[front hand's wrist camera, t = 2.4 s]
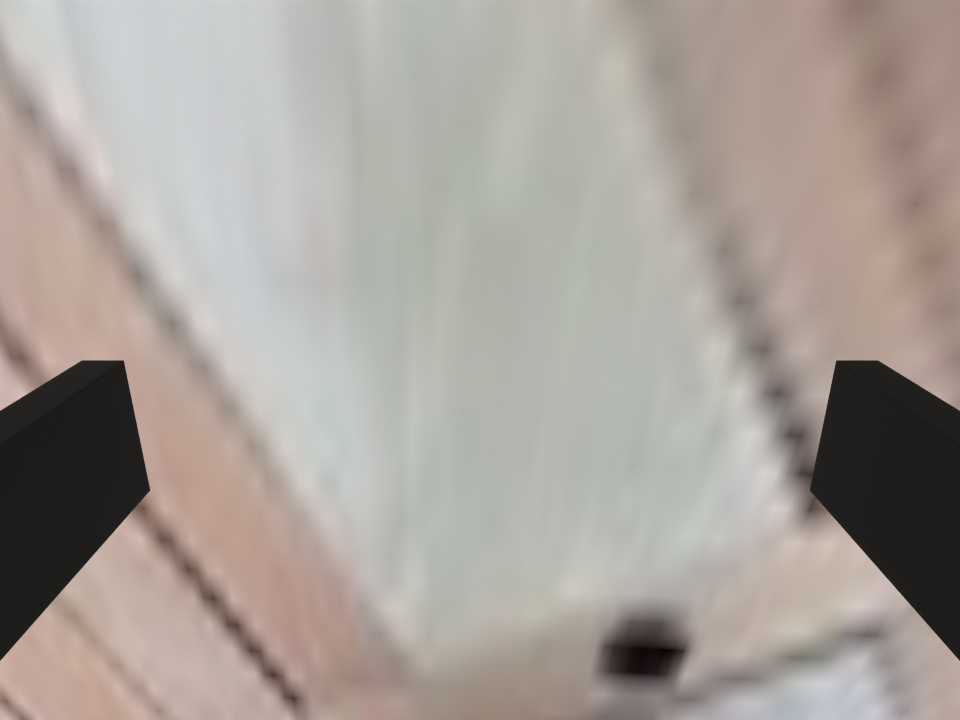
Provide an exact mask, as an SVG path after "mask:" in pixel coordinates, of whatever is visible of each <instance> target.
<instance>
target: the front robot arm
mask: <svg viewBox="0 0 960 720" xmlns="http://www.w3.org/2000/svg"><path fill="white" fill-rule="evenodd" d="M149 491H150V487H149V482H148V477H147V472H146V468H145V463H144V458H143V453H142V448H141V443H140V438H139V433H138V428H137V423H136V419H135V414H134V409H133V404H132V399H131V394H130V389H129V384H128V379H127V375H126V370H125V365H124V361H81V362H79V363H77V364H76V365H74V366H72V367H71V368H69V369H68V370H66V371H64V372H63V373H61V374H59V375H58V376H56V377H55V378H53V379H51V380H50V381H48V382H46V383H45V384H43V385H42V386H40V387H38V388H37V389H35V390H33V391H32V392H30V393H29V394H27V395H25V396H24V397H22V398H20V399H19V400H17V401H16V402H14V403H12V404H11V405H9V406H7V407H6V408H4V409H3V410H1V411H0V660H1V659H2V658H3V657H4V656H5V655H6V654H7V652H8V651H9V650H10V649H11V648H12V647H13V646H14V644H15V643H16V642H17V641H18V640H19V639H20V638H21V637H22V635H23V634H24V633H25V632H26V631H27V630H28V629H29V627H30V626H31V625H32V624H33V623H34V622H35V621H36V619H37V618H38V617H39V616H40V615H41V614H42V613H43V612H44V610H45V609H46V608H47V607H48V606H49V605H50V604H51V602H52V601H53V600H54V599H55V598H56V597H57V596H58V594H59V593H60V592H61V591H62V590H63V589H64V588H65V587H66V585H67V584H68V583H69V582H70V581H71V580H72V579H73V577H74V576H75V575H76V574H77V573H78V572H79V571H80V569H81V568H82V567H83V566H84V565H85V564H86V563H87V562H88V560H89V559H90V558H91V557H92V556H93V555H94V554H95V552H96V551H97V550H98V549H99V548H100V547H101V546H102V544H103V543H104V542H105V541H106V540H107V539H108V538H109V536H110V535H111V534H112V533H113V532H114V531H115V530H116V529H117V527H118V526H119V525H120V524H121V523H122V522H123V521H124V519H125V518H126V517H127V516H128V515H129V514H130V513H131V511H132V510H133V509H134V508H135V507H136V506H137V505H138V504H139V502H140V501H141V500H142V499H143V498H144V497H145V496H146V494H147V493H148V492H149ZM810 491H811V492H812V493H813V494H814V496H815V497H816V498H817V499H818V500H819V501H820V502H821V504H822V505H823V506H824V507H825V508H826V509H827V510H828V511H829V513H830V514H831V515H832V516H833V517H834V518H835V519H836V521H837V522H838V523H839V524H840V525H841V526H842V527H843V529H844V530H845V531H846V532H847V533H848V534H849V535H850V536H851V538H852V539H853V540H854V541H855V542H856V543H857V544H858V546H859V547H860V548H861V549H862V550H863V551H864V552H865V554H866V555H867V556H868V557H869V558H870V559H871V560H872V562H873V563H874V564H875V565H876V566H877V567H878V568H879V569H880V571H881V572H882V573H883V574H884V575H885V576H886V577H887V579H888V580H889V581H890V582H891V583H892V584H893V585H894V587H895V588H896V589H897V590H898V591H899V592H900V593H901V594H902V596H903V597H904V598H905V599H906V600H907V601H908V602H909V604H910V605H911V606H912V607H913V608H914V609H915V610H916V612H917V613H918V614H919V615H920V616H921V617H922V618H923V619H924V621H925V622H926V623H927V624H928V625H929V626H930V627H931V629H932V630H933V631H934V632H935V633H936V634H937V635H938V637H939V638H940V639H941V640H942V641H943V642H944V643H945V644H946V646H947V647H948V648H949V649H950V650H951V651H952V652H953V654H954V655H955V656H956V657H957V658H958V659H959V660H960V411H959V410H957V409H956V408H954V407H953V406H951V405H949V404H948V403H946V402H944V401H943V400H941V399H940V398H938V397H936V396H935V395H933V394H931V393H930V392H928V391H927V390H925V389H923V388H922V387H920V386H918V385H917V384H915V383H914V382H912V381H910V380H909V379H907V378H905V377H904V376H902V375H901V374H899V373H897V372H896V371H894V370H892V369H891V368H889V367H888V366H886V365H884V364H883V363H881V362H879V361H836V365H835V370H834V375H833V379H832V384H831V389H830V394H829V399H828V404H827V409H826V414H825V419H824V423H823V428H822V433H821V438H820V443H819V448H818V453H817V458H816V463H815V468H814V472H813V477H812V482H811V487H810Z"/></svg>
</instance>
